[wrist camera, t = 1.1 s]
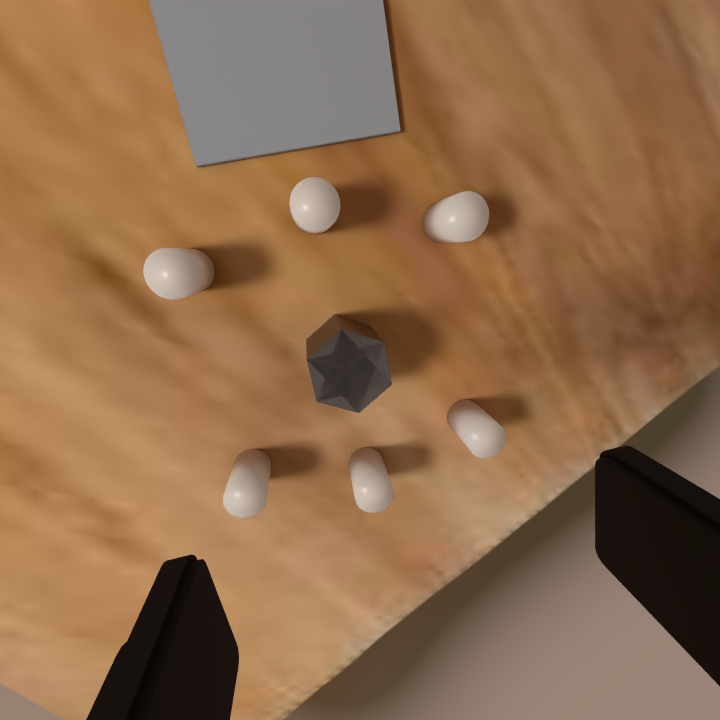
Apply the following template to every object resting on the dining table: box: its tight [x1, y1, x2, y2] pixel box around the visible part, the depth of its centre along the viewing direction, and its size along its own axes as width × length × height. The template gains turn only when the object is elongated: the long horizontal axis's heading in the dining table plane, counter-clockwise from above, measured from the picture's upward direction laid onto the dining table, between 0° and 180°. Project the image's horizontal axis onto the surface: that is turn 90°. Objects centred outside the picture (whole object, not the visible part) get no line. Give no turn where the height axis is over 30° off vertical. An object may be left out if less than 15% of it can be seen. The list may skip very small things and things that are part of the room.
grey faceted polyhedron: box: [306, 314, 392, 413], centre depth 24 cm, size 5×4×5 cm
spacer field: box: [144, 177, 507, 518], centre depth 24 cm, size 21×19×4 cm
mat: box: [149, 0, 401, 167], centre depth 21 cm, size 9×12×1 cm
